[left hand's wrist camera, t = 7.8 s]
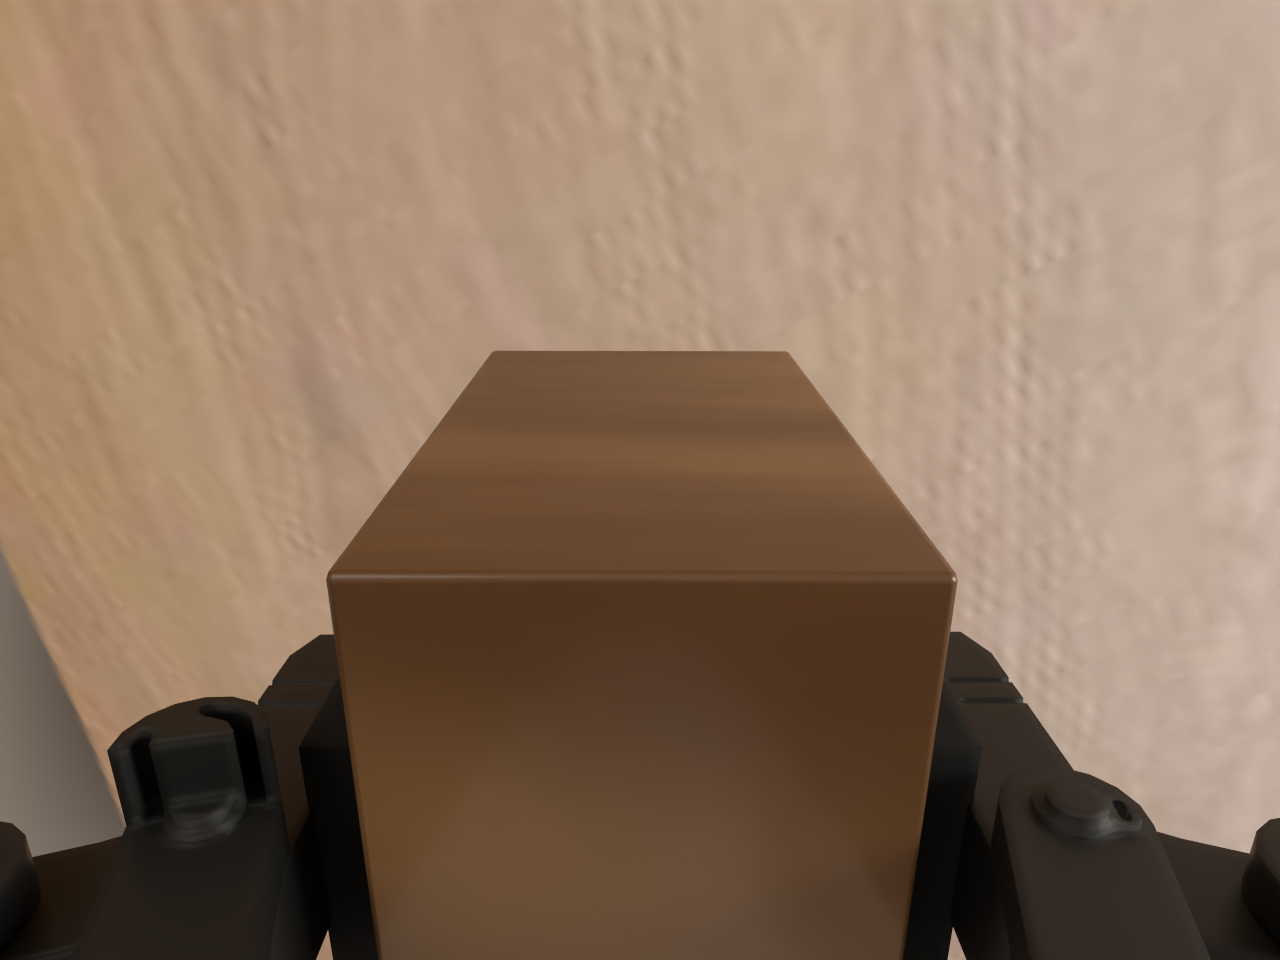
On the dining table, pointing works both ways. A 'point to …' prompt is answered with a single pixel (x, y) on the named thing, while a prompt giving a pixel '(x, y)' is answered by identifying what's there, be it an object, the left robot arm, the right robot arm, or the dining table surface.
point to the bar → (641, 671)
